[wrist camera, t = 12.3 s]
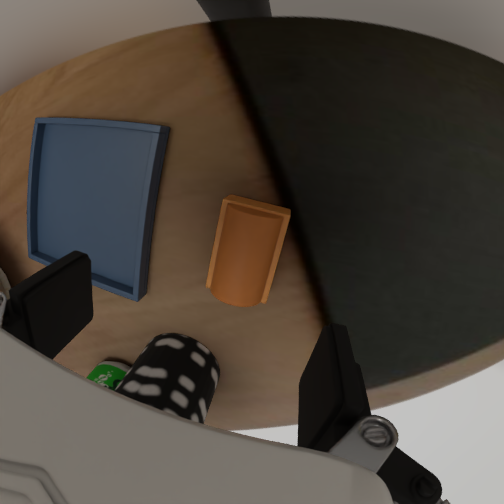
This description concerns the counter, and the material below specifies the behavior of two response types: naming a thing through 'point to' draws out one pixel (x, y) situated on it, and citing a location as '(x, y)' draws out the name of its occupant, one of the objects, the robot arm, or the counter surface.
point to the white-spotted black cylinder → (173, 377)
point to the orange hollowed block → (246, 250)
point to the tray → (96, 196)
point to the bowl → (4, 284)
